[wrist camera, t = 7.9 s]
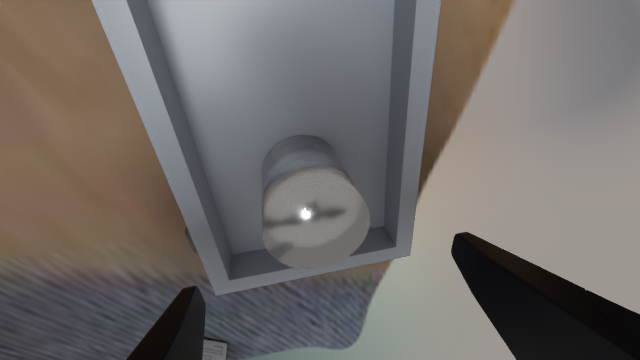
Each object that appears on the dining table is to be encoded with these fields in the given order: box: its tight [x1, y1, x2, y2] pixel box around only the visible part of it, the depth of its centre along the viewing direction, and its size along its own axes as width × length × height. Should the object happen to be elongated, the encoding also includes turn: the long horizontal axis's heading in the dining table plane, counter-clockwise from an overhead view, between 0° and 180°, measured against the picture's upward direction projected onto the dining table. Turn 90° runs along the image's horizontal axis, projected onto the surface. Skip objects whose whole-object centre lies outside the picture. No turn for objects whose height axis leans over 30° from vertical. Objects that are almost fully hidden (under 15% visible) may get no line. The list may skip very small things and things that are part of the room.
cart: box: [92, 0, 441, 296], centre depth 13 cm, size 20×14×3 cm
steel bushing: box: [261, 135, 370, 269], centre depth 13 cm, size 4×4×5 cm
